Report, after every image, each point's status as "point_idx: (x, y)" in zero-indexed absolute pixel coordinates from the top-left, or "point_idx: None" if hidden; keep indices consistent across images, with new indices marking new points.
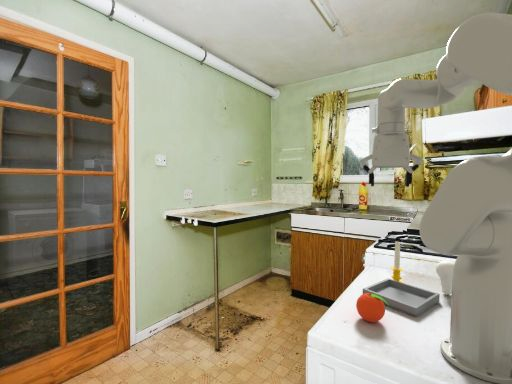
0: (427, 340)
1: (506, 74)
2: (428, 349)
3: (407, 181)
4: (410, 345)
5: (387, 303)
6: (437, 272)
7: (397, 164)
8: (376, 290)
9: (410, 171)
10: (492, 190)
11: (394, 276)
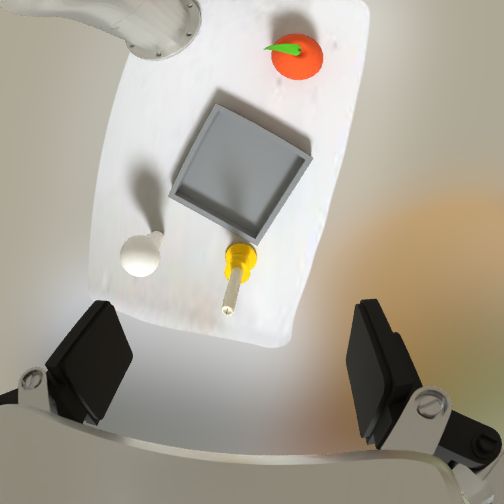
0: (212, 41)
1: None
2: (215, 20)
3: (89, 319)
4: (238, 18)
5: (267, 48)
6: (158, 249)
7: (68, 443)
8: (283, 191)
9: (35, 379)
10: None
11: (243, 260)
